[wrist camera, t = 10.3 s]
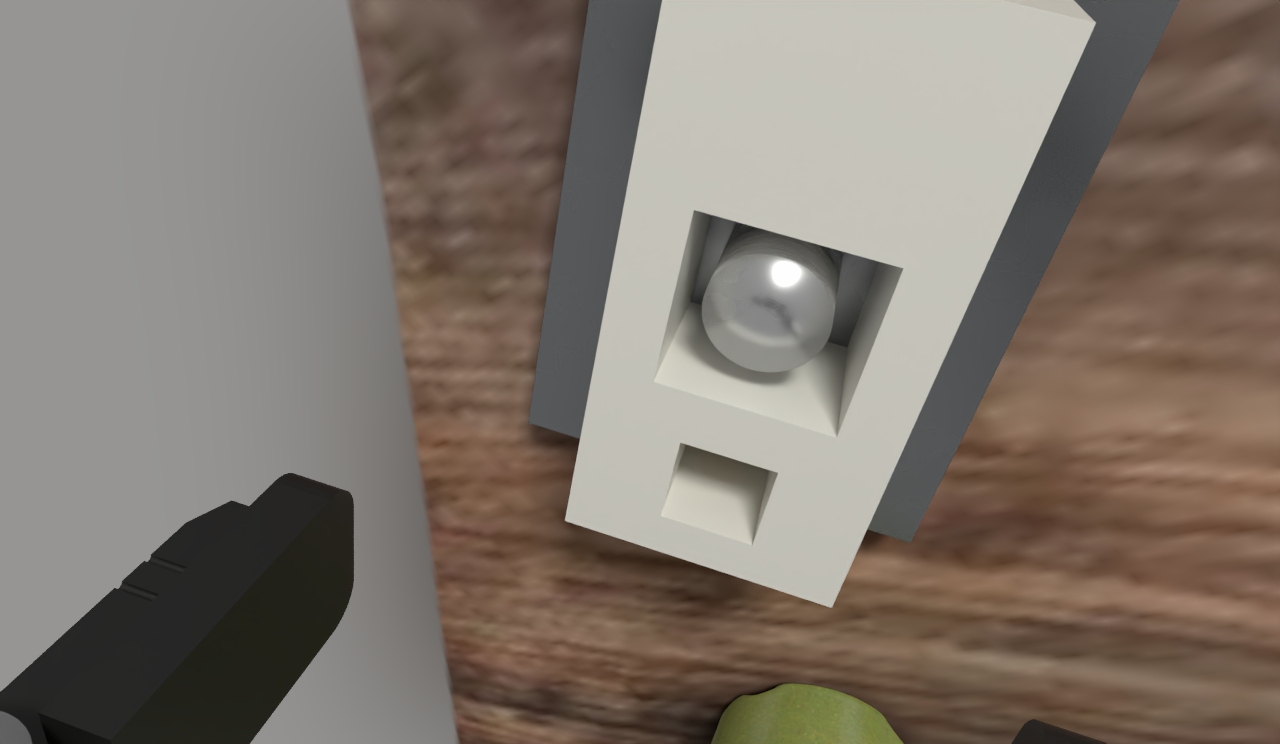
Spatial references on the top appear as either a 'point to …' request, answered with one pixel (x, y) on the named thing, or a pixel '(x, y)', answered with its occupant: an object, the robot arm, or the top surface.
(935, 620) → the top surface
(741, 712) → the plant pot
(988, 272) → the base plate
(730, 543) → the white block with recesses
